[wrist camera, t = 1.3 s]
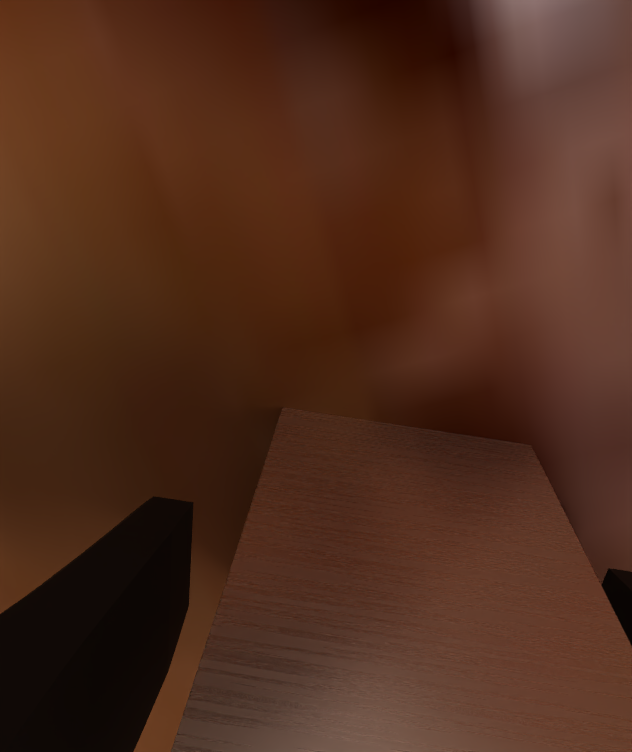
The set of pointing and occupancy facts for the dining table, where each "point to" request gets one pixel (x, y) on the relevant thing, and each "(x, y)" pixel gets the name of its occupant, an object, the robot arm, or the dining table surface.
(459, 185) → the dining table surface
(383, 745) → the block
